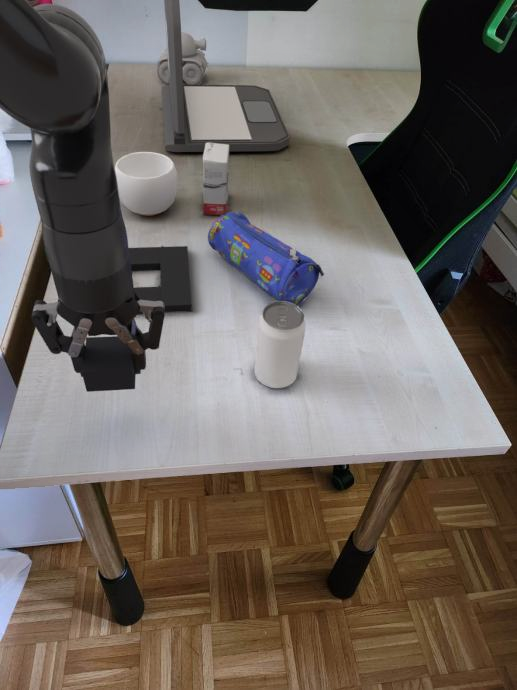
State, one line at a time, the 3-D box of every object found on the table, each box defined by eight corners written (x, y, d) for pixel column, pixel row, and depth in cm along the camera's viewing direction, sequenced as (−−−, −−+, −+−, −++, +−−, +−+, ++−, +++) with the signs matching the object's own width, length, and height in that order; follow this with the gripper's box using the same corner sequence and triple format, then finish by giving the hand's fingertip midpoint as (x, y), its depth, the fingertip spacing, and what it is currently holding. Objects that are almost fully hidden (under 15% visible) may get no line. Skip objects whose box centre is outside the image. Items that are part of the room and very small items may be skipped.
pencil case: (320, 299, 90) (329, 255, 83) (285, 320, 86) (291, 274, 79) (239, 241, 101) (241, 197, 94) (204, 256, 97) (203, 211, 90)
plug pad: (86, 391, 60) (81, 371, 57) (90, 357, 64) (86, 337, 61) (135, 389, 61) (131, 369, 58) (136, 355, 64) (133, 335, 62)
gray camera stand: (291, 154, 128) (308, 7, 106) (165, 155, 124) (155, 2, 101) (266, 95, 155) (275, -33, 132) (161, 94, 150) (152, -39, 127)
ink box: (226, 216, 107) (227, 162, 98) (202, 215, 107) (202, 161, 98) (228, 195, 113) (230, 142, 104) (206, 193, 113) (205, 141, 104)
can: (252, 388, 75) (258, 329, 67) (255, 356, 80) (260, 296, 71) (297, 391, 75) (308, 333, 67) (296, 359, 80) (307, 300, 71)
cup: (190, 214, 107) (188, 170, 100) (136, 231, 101) (131, 186, 94) (160, 188, 113) (156, 145, 106) (108, 203, 107) (101, 159, 100)
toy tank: (209, 75, 163) (209, 29, 154) (206, 88, 156) (205, 40, 146) (162, 72, 163) (159, 25, 153) (156, 84, 155) (153, 35, 146)
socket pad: (89, 315, 84) (88, 309, 83) (97, 255, 95) (96, 248, 94) (191, 311, 86) (191, 304, 85) (187, 252, 97) (187, 246, 96)
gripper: (164, 231, 53) (171, 345, 65) (18, 232, 51) (53, 350, 63) (165, 276, 48) (173, 391, 60) (2, 279, 46) (44, 398, 58)
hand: (111, 369), depth 62 cm, fingers closed on plug pad, 5 cm apart
